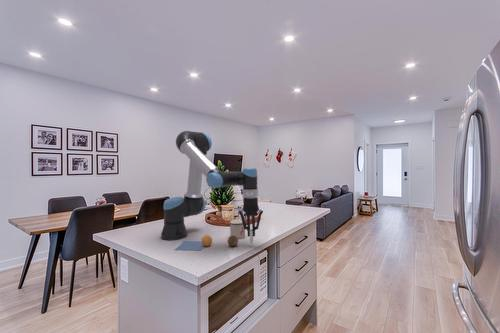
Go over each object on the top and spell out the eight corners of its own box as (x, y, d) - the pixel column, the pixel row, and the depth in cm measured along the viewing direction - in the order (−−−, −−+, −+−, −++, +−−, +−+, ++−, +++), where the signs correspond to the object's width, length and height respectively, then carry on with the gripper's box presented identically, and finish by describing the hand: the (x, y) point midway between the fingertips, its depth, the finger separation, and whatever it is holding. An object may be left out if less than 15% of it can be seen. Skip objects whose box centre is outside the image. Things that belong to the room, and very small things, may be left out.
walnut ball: (226, 247, 121) (226, 237, 122) (228, 244, 127) (228, 234, 127) (237, 248, 121) (237, 237, 121) (239, 244, 126) (238, 234, 126)
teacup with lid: (243, 239, 135) (243, 219, 135) (228, 238, 137) (227, 218, 137) (247, 233, 147) (247, 214, 147) (233, 233, 149) (233, 214, 149)
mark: (174, 250, 120) (174, 249, 120) (184, 241, 134) (184, 241, 134) (201, 250, 119) (201, 250, 119) (208, 241, 132) (208, 241, 132)
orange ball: (200, 247, 123) (200, 236, 123) (203, 244, 128) (203, 233, 128) (210, 247, 122) (210, 237, 122) (213, 244, 128) (213, 234, 128)
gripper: (237, 198, 120) (238, 244, 120) (262, 198, 119) (263, 245, 119) (239, 196, 127) (240, 240, 127) (263, 196, 126) (264, 240, 126)
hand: (251, 242), depth 123 cm, fingers closed
